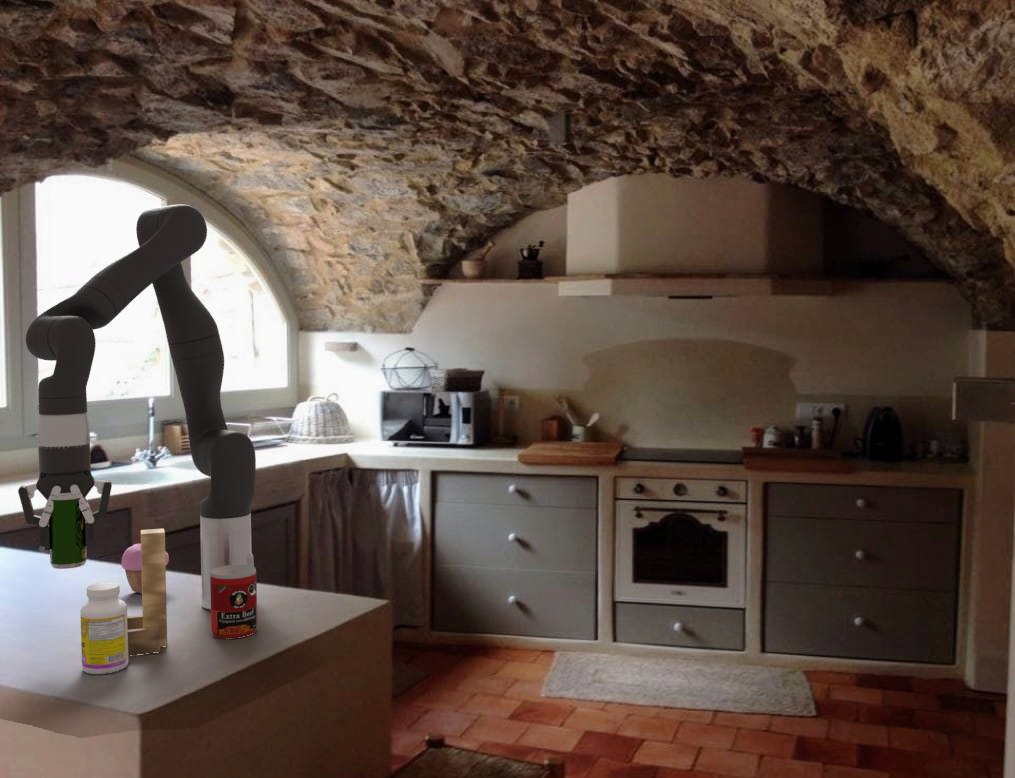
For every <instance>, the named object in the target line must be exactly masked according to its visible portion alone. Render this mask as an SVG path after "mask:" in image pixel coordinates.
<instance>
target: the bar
mask: <svg viewBox="0 0 1015 778" xmlns="http://www.w3.org/2000/svg"><path fill="white" fill-rule="evenodd" d="M140 543H141V567H142V594H141V599H142V601H141V603H142V605H141V606H142V608H141V609H142V615H143V628H150V627H159V639H160V647H163V646H167V647H168V615H167V613H168V612H167V610H168V609H167V576H166V575H167V571H166V570H167V568H166V566H167V565H166V562H165V551H166V531H165V528H152V529H151V528H150V529H140ZM163 648H164V647H163Z"/></svg>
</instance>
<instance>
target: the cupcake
mask: <svg viewBox="0 0 1015 778" xmlns="http://www.w3.org/2000/svg"><path fill="white" fill-rule="evenodd" d="M169 557H170V556H169V553H168V552H167V551H166V550H165V562H166V566H167V565H168V563H169V561H170V559H169ZM121 568H122V569H123V570H124V572H125V576H126V579H127V582H128V584H129V587H130V589H131V591H132V592H134V593H138V594H141V595H142V567H141V542H140V543H135V544H132V546H129V547H128V548H126V549H125V550H124V552H123V555H122V557H121Z"/></svg>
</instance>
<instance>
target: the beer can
mask: <svg viewBox="0 0 1015 778" xmlns="http://www.w3.org/2000/svg"><path fill="white" fill-rule="evenodd" d="M73 494H74V492H73V493H72V492H62V493H58V495H59V496H58V497H55V498H54V499H53V500H52V501H53V511H52V513H51V516H50V518H49V521H48V525H49V532H50V550H49V562H50V563H49V564H51V567H52V568H53V569H57V570H60V569H61V570H63V569H64V570H65V569H75V568H79V567H80V568H81V567H83V566H85V565H86V562H87V547H86V536H85V523H86V519H85V517H84V515H83V513H82V512H81V510H80V508H79V499H80V498H78V497H77V496H76V495H73ZM81 504H83V503H81ZM49 506H51V505H49Z"/></svg>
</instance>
